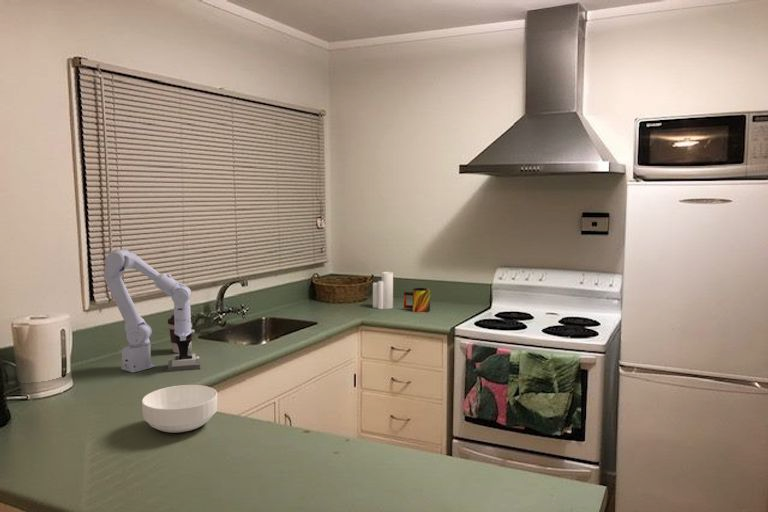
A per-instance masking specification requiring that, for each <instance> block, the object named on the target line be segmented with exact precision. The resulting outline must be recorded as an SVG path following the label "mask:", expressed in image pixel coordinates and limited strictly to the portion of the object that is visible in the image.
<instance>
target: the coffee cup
mask: <svg viewBox="0 0 768 512" xmlns="http://www.w3.org/2000/svg"><path fill="white" fill-rule="evenodd" d="M194 319H195V318H194V317H193V316H191V330H194V329H193V328H194V327H193V323H194V322H195V320H194ZM167 325H169V336H170V342H171V346H172V347H171V348H172V349H171V350H172V352H173V353H174V354H179V352H178V346H177V344H176V342H175V339H176V337H175V335H176V334H174V331H175V322H174V314H172V315H171V316H170V317H169V318H168V319H167ZM190 338H191V341H190V342H191V348H192V347H193V346H192V344H193V343H192V342H193V333H191V337H190Z"/></svg>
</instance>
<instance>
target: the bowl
mask: <svg viewBox="0 0 768 512" xmlns="http://www.w3.org/2000/svg"><path fill="white" fill-rule="evenodd" d="M141 409H142V417H143V420H144V421H145V422H147V423H148V425H149V426H150V427H151V428H154V429H156V430H159V431H161V432H164V433H175V434H176V433H185V432H189V431H192V430H197V429H198V428H200V427H202V426H203V425H205V424H206V423H207V422H209V421H210V420H211V419H212V417H213V416H214V414H216V413H217V411H218V391H217V390H216V389H215V388H213V387H210V386H207V385H201V384H183V385H172V386H168V387H163V388H160V389H156V390H153V391H151V392H149V393H148V394H146V395H144V396H143V398H142V400H141Z"/></svg>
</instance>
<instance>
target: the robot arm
mask: <svg viewBox="0 0 768 512" xmlns="http://www.w3.org/2000/svg"><path fill="white" fill-rule="evenodd" d="M103 263H104V271H103V273H104V275H103V278H104V281H105V283H106V286H107V287H108V290H109V292H110V294H111V295H112V298H113V300H114V302H115V304H116V307H117V308H118V310H119V312H120V315H121V317H122V319H123V320H124V331H125V334H126V335H125V337H126V340H127V342H128V346H125V347H123V348H122V350H121V368H120V369H121V370H122V371H127V372H130V373H137V372H141V371H145V370H148V369H151V368H156V367H157V364H154V363H152V357H151V356H152V355H151V352H152V351H151V341H150V337H151V336H152V334H153V330H152V327H151V326H150V325H149V324H148V323H147V322H146V320H145V319H144V318H143V317H142V316H140V314H139V311H138V310H137V308H136V306H135V303H134V301H133V299H132V298H131V295H130V293H129V291H128V288H127V286H126V284H125V283H124V279H123V278H122V276H123V274H124V272H125V271H126V269H130V270H136V271H138V272H139V273H140V274H142V275H144V276H145V277H147V278H148V279H150V280H151V281H153V282H154V285H155V287H156V288H157V289H159V290H160V291H161V292H164V293H165V294H166V295H168V296H169V297H170V298H171V301H172V302H173V315H174V322H175V331H174V334H176V335H175V337H176V339H175V342H176V344H177V346H178V348H179V353H180V357H181V358H182V357H187V353H188V347H189V344H190V341H191V338H190V337H191V333H192V334H193V333H195V329H193V330H191V317H192V316H191V314H192V313H191V312H192V311H191V300H190V298H191V297H192V289H190V287H189V286H188V285H183V283H182V282H178V281H177V280H175V279H174V278H173V277H172V276H173V275H172V274H170V273H166V272H165V273H160V272H158V271H157V270H156V269H154V267H152V266H151V265H149V264H148V263H147V262H146V261H144V260H143V259H142V258H140V257H139V256H138V255H137V254H136V253H134V252H131V251H130V250H129V249H126V248H121V249H119V250H113V251H111V252H109V253H108V254H107V256H105V259H104V261H103ZM179 353H178V354H179Z"/></svg>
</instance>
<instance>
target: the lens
mask: <svg viewBox="0 0 768 512" xmlns="http://www.w3.org/2000/svg"><path fill="white" fill-rule="evenodd" d="M178 352H179V348H178ZM191 354H192V347H191V342H190V344H189V347H188V353H187V357H182V358H181V357H180V353H178V355H179V360H182V359H191Z"/></svg>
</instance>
